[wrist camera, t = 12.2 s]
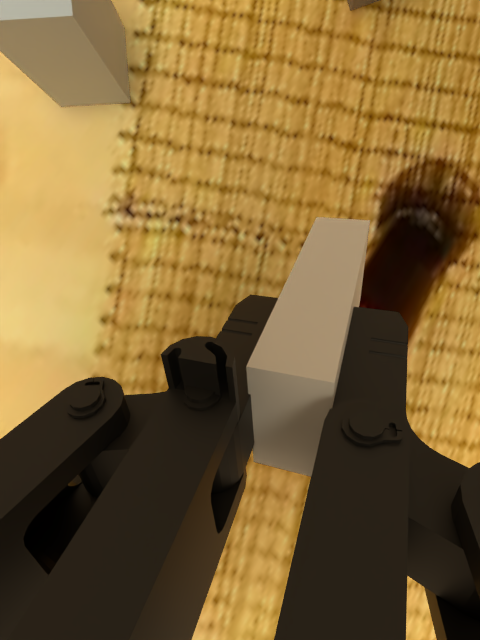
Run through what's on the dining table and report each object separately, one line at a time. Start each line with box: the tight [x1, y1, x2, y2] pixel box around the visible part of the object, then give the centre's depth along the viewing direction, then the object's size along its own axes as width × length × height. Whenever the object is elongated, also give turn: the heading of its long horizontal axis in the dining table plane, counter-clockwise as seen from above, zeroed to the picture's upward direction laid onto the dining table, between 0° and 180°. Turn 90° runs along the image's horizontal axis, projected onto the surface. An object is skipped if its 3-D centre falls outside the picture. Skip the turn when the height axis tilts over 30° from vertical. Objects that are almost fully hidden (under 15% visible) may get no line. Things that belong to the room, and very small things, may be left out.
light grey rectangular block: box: [0, 0, 131, 107], centre depth 24 cm, size 5×5×10 cm
